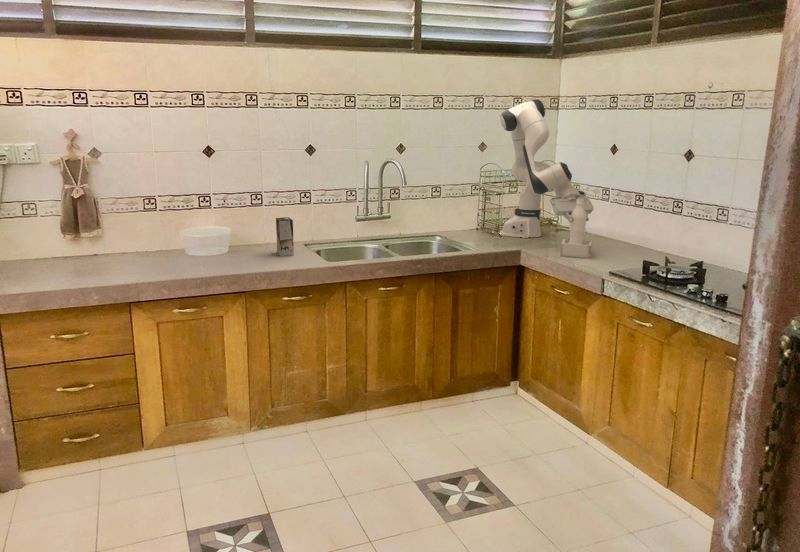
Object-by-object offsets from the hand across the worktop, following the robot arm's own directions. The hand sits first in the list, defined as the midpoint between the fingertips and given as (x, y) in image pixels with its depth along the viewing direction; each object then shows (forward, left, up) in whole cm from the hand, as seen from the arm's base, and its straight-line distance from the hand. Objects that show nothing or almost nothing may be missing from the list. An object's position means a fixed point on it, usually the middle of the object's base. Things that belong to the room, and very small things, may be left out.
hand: (579, 221), depth 291 cm
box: (0, +1, -16) cm, 16 cm away
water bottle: (-1, 0, -15) cm, 15 cm away
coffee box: (-124, -48, -16) cm, 134 cm away
